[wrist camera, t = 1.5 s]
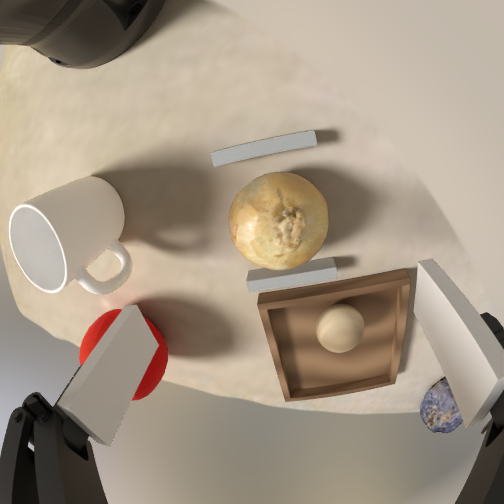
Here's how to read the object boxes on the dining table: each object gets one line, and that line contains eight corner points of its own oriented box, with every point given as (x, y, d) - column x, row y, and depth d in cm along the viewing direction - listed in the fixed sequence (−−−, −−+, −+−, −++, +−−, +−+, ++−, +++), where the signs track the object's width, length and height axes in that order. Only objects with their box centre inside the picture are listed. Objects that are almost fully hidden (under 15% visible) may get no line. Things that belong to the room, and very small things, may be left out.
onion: (320, 252, 26) (331, 294, 19) (238, 250, 27) (223, 291, 20) (325, 168, 22) (341, 185, 16) (233, 168, 23) (214, 184, 17)
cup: (87, 160, 24) (17, 184, 15) (167, 229, 26) (115, 283, 17) (63, 216, 27) (5, 252, 18) (132, 279, 30) (86, 335, 21)
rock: (416, 425, 35) (442, 449, 25) (415, 380, 36) (447, 401, 26) (458, 400, 35) (488, 417, 25) (459, 356, 36) (494, 369, 26)
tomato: (164, 366, 36) (139, 425, 26) (103, 330, 35) (66, 382, 25) (189, 324, 32) (159, 394, 22) (114, 280, 30) (65, 337, 20)
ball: (311, 298, 28) (315, 330, 23) (358, 290, 27) (369, 320, 22) (316, 333, 30) (319, 366, 25) (359, 326, 29) (368, 357, 24)
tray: (258, 293, 28) (257, 304, 27) (403, 268, 25) (410, 277, 24) (285, 391, 35) (285, 401, 34) (392, 373, 32) (395, 383, 31)
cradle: (215, 150, 23) (210, 153, 21) (311, 130, 21) (314, 130, 19) (251, 281, 28) (249, 292, 26) (334, 267, 26) (337, 278, 24)
